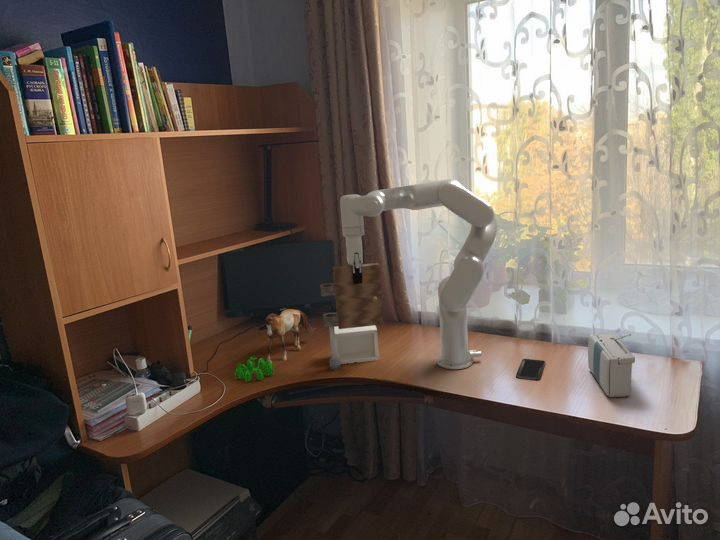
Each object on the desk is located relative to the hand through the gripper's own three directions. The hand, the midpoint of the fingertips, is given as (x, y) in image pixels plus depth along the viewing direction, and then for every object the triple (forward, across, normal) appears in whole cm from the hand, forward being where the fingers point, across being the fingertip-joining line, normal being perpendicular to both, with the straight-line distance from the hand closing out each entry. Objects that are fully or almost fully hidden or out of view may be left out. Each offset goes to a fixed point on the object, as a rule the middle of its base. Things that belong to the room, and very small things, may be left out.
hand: (357, 281), depth 202 cm
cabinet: (+31, -5, -3) cm, 32 cm away
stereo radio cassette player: (+32, +36, +74) cm, 88 cm away
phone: (+32, +20, +55) cm, 67 cm away
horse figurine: (+32, -17, -25) cm, 44 cm away
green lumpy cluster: (+32, -2, -39) cm, 51 cm away
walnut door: (+16, 0, -2) cm, 16 cm away
